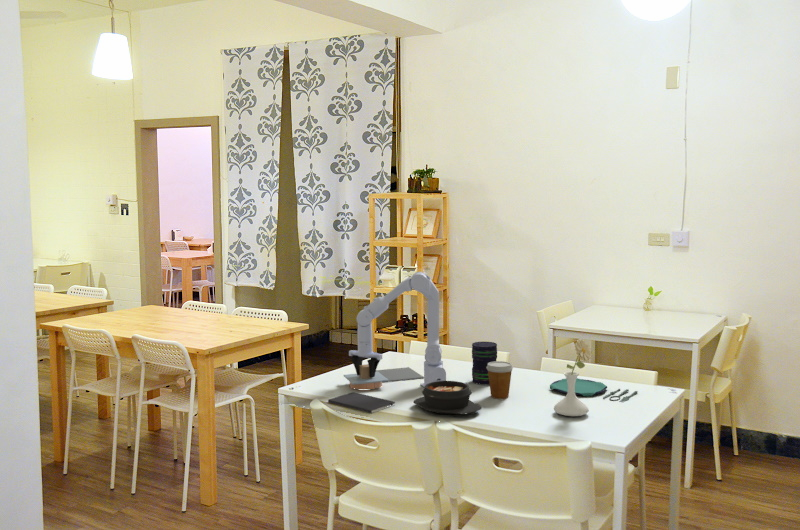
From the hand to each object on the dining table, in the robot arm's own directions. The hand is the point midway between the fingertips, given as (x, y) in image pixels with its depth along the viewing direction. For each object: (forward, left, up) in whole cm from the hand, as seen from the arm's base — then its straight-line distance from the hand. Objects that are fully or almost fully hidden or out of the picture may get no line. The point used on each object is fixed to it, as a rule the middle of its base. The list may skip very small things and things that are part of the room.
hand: (365, 376), depth 286 cm
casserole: (-40, -17, -4) cm, 44 cm away
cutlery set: (-39, -75, -5) cm, 84 cm away
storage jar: (-11, -45, -4) cm, 47 cm away
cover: (0, 0, -1) cm, 1 cm away
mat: (+12, -16, -4) cm, 20 cm away
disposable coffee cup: (-32, -41, -4) cm, 52 cm away
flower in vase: (-60, -54, -4) cm, 81 cm away
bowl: (0, 0, -4) cm, 4 cm away
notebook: (-22, +8, -5) cm, 24 cm away
